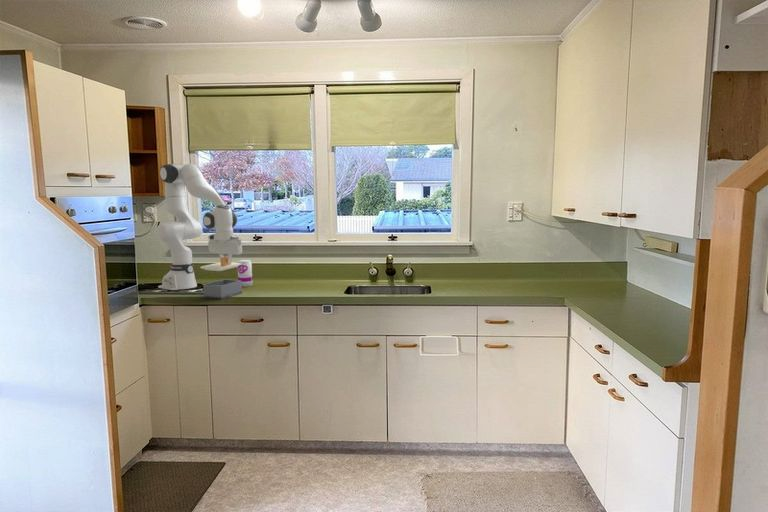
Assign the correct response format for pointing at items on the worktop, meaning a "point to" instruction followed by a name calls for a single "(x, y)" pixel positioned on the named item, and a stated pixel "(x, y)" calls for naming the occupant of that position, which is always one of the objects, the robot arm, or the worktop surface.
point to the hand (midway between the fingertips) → (226, 262)
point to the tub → (222, 288)
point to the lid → (220, 265)
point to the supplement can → (245, 273)
